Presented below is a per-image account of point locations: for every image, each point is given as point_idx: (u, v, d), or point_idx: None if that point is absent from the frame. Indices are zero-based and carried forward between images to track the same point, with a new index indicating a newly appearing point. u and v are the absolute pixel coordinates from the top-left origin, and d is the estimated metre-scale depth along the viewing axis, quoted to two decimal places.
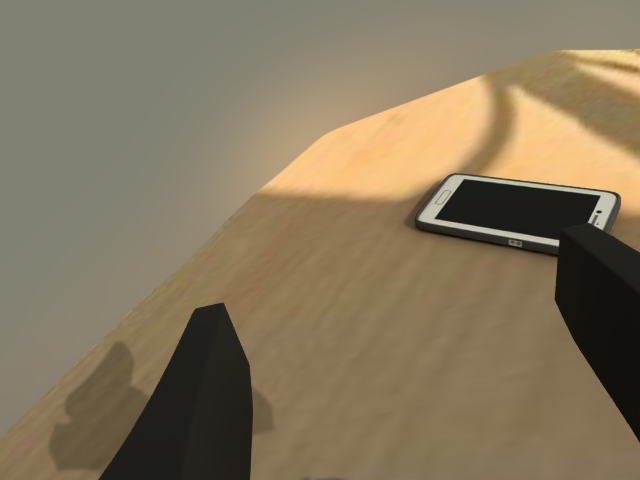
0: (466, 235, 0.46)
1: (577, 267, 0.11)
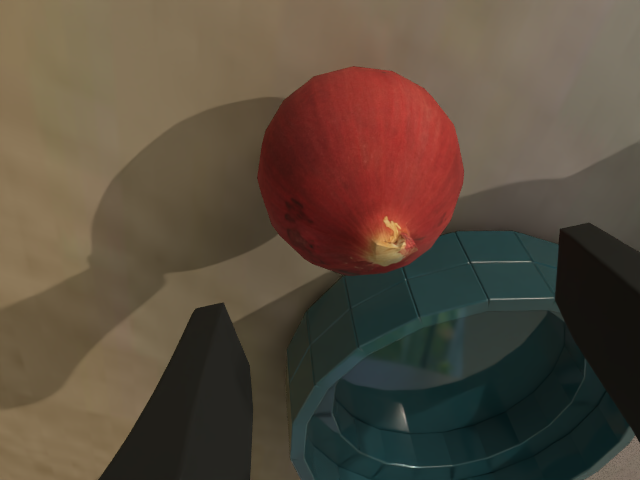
0: None
1: (577, 267, 0.11)
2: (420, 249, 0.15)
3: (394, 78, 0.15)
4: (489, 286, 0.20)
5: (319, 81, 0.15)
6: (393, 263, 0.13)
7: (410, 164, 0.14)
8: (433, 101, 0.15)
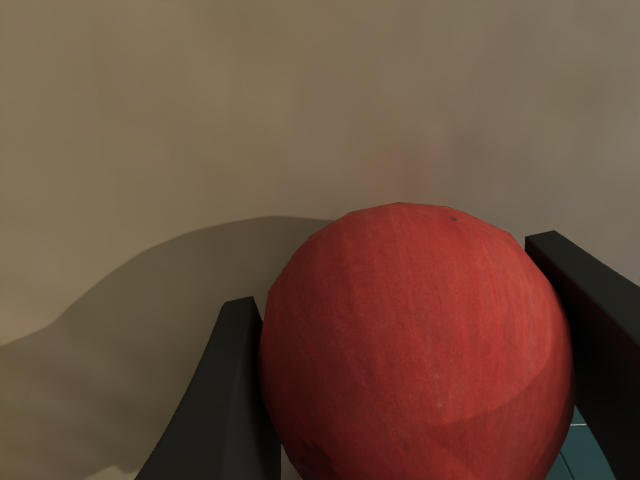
0: None
1: None
2: None
3: (474, 235, 0.09)
4: (580, 472, 0.14)
5: (354, 238, 0.10)
6: None
7: (514, 403, 0.08)
8: (533, 267, 0.10)
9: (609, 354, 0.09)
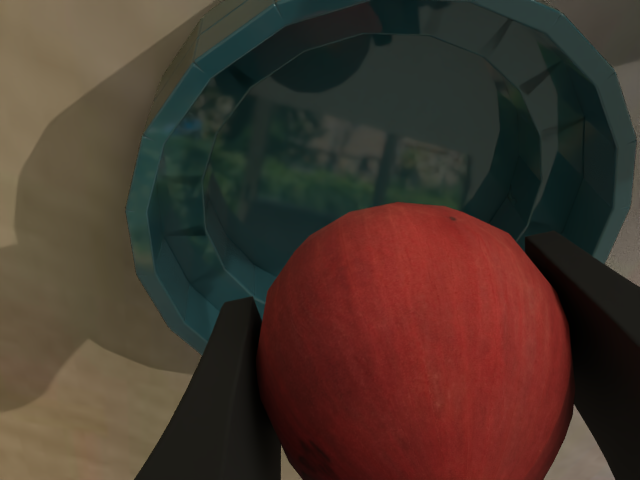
0: None
1: None
2: None
3: (472, 235, 0.09)
4: None
5: (353, 238, 0.10)
6: None
7: (512, 403, 0.08)
8: (532, 267, 0.10)
9: (609, 354, 0.09)
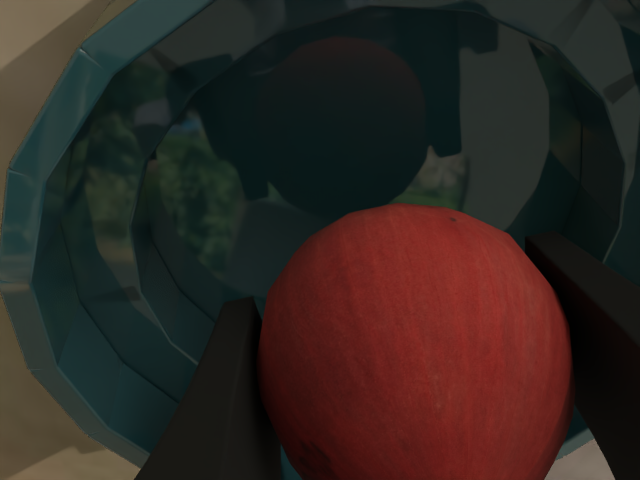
0: None
1: None
2: None
3: (473, 236, 0.09)
4: None
5: (353, 239, 0.10)
6: None
7: (513, 404, 0.08)
8: (532, 268, 0.10)
9: (609, 354, 0.09)
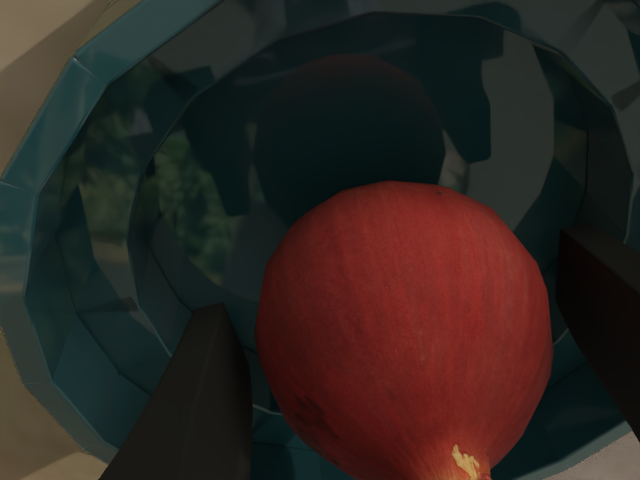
0: None
1: (577, 267, 0.11)
2: (497, 463, 0.10)
3: (456, 207, 0.10)
4: None
5: (345, 210, 0.10)
6: None
7: (491, 358, 0.09)
8: (512, 238, 0.10)
9: None
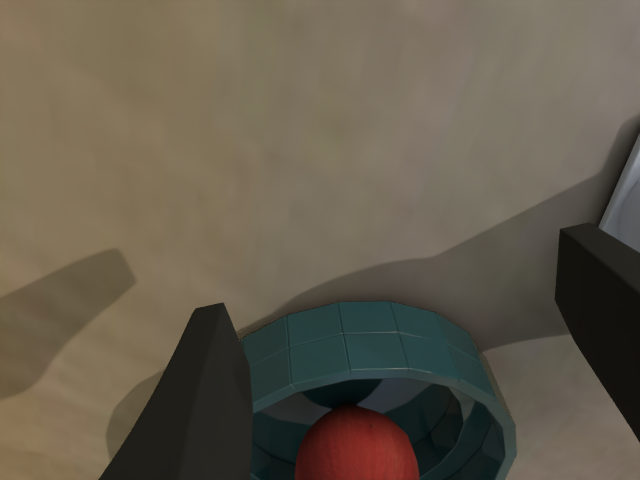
0: None
1: (577, 267, 0.11)
2: None
3: (377, 435, 0.26)
4: (353, 357, 0.23)
5: (333, 435, 0.26)
6: None
7: None
8: (400, 446, 0.26)
9: None
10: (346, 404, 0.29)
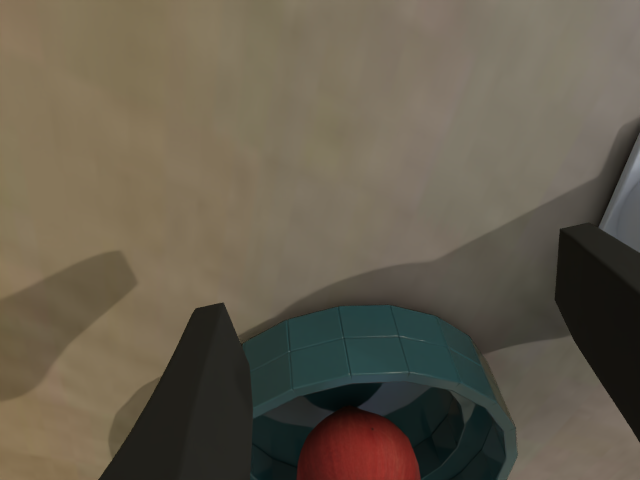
0: None
1: (577, 267, 0.11)
2: None
3: (378, 438, 0.26)
4: (354, 361, 0.23)
5: (334, 439, 0.26)
6: None
7: None
8: (401, 448, 0.26)
9: None
10: (347, 407, 0.30)
